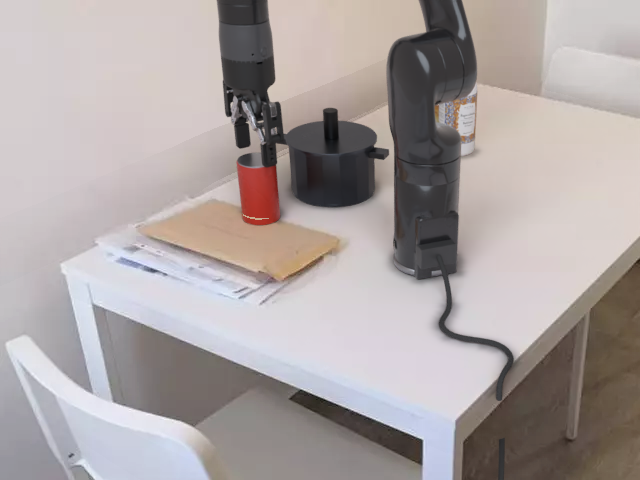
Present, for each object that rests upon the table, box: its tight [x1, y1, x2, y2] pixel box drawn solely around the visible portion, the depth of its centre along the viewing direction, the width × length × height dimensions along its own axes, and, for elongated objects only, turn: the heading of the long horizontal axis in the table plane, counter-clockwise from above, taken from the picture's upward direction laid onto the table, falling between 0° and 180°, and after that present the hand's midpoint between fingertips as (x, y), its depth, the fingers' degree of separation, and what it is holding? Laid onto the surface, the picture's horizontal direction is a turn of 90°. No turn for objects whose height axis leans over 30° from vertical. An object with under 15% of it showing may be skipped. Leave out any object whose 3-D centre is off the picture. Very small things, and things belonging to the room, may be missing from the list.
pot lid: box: [286, 107, 378, 157], centre depth 144 cm, size 15×15×6 cm
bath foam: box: [439, 82, 478, 157], centre depth 161 cm, size 7×7×20 cm
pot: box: [276, 133, 390, 208], centre depth 148 cm, size 14×19×9 cm
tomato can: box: [235, 151, 281, 226], centre depth 138 cm, size 6×6×10 cm
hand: (256, 156), depth 136 cm, fingers open, 8 cm apart
